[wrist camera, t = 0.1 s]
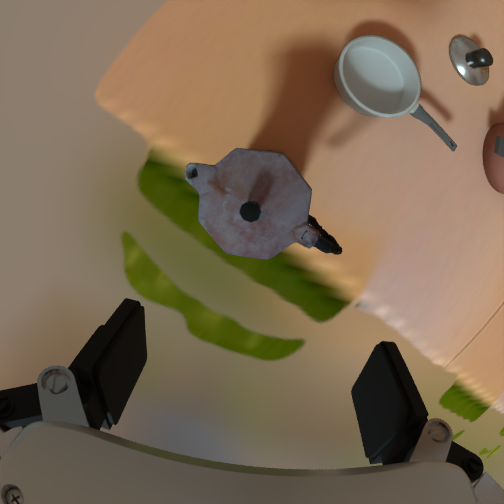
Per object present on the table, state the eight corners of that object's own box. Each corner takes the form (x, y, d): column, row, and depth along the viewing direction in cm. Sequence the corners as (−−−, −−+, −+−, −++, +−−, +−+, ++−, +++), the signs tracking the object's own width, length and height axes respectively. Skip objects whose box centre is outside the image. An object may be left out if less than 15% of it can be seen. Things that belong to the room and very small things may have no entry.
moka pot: (231, 128, 36) (193, 116, 17) (333, 175, 38) (389, 211, 19) (204, 190, 39) (149, 236, 21) (302, 234, 41) (327, 312, 23)
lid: (448, 29, 26) (465, 21, 21) (485, 53, 26) (503, 49, 21) (447, 71, 29) (466, 66, 24) (484, 94, 29) (504, 93, 24)
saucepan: (417, 173, 36) (436, 179, 31) (313, 85, 33) (320, 76, 28) (452, 120, 32) (472, 121, 27) (355, 32, 29) (367, 19, 24)
